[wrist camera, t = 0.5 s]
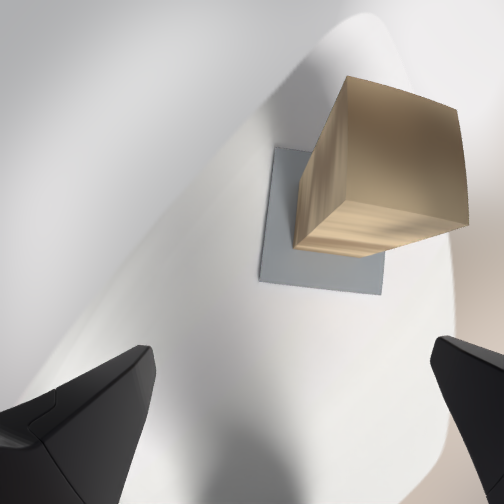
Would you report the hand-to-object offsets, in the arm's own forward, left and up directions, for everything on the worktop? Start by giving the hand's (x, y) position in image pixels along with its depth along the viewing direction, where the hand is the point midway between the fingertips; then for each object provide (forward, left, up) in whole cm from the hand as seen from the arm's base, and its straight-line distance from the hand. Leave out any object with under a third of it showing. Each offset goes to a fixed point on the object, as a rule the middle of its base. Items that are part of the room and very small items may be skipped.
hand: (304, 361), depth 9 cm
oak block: (+6, -5, -13) cm, 15 cm away
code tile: (+6, -5, -13) cm, 16 cm away
